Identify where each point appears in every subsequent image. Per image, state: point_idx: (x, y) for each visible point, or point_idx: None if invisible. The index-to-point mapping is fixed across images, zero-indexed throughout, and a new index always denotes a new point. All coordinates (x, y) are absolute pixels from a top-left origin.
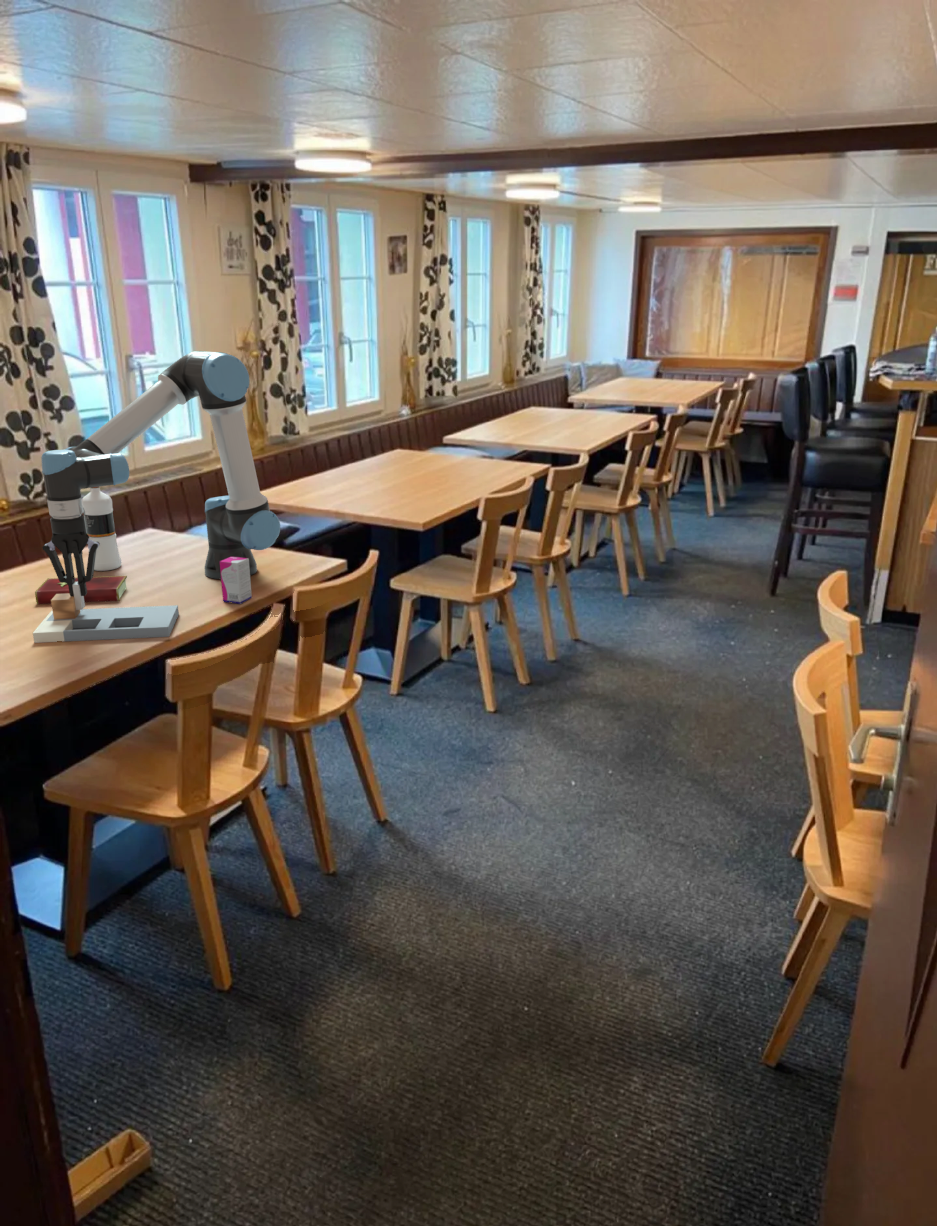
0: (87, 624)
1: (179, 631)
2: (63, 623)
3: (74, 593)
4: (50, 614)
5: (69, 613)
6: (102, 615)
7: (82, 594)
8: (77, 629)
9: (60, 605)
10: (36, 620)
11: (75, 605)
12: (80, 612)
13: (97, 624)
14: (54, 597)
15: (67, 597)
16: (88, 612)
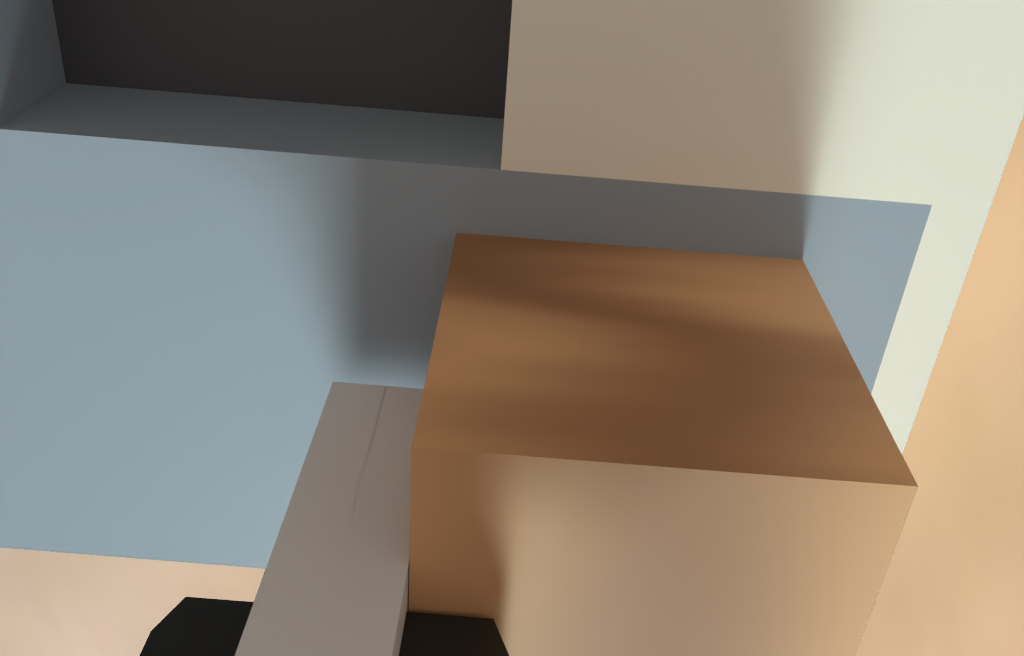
0: (273, 117)
1: None
2: (620, 7)
3: (373, 635)
4: None
5: (537, 284)
6: (51, 285)
7: (229, 627)
8: (430, 53)
9: (695, 389)
10: (1007, 536)
11: None
12: None
13: (121, 102)
14: (837, 633)
15: (556, 584)
16: None
